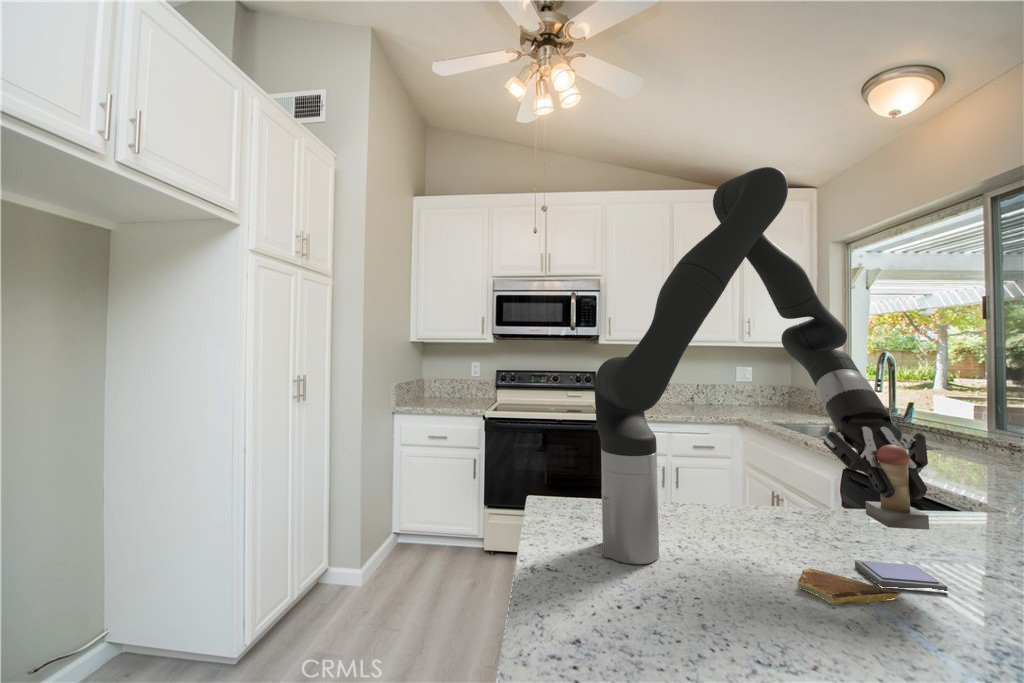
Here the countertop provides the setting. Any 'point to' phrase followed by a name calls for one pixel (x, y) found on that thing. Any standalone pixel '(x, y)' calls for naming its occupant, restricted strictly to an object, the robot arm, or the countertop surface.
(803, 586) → the brown flat slab
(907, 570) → the ink pad
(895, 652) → the countertop surface
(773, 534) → the countertop surface
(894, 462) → the stamp
